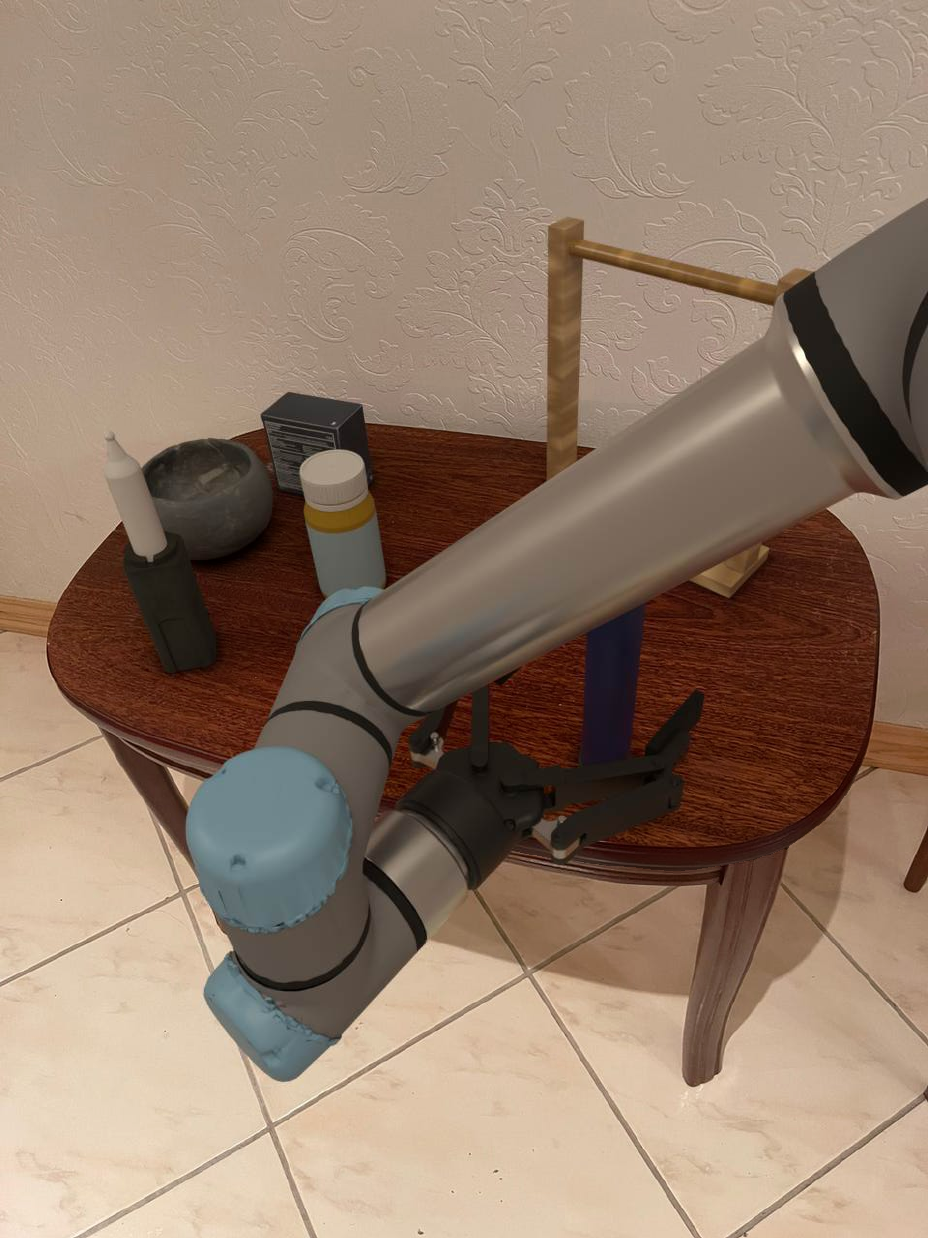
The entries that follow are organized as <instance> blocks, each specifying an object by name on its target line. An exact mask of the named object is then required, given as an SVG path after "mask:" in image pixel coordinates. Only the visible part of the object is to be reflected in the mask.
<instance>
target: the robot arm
mask: <svg viewBox="0 0 928 1238" xmlns="http://www.w3.org/2000/svg"><path fill="white" fill-rule="evenodd" d="M772 312H773V314H772V313H771V317H772V318H771V317H770V322H769V325H768V327H767V330H766V332H765V333H764V336H762V337H761V338H759V339H757V340H756V341H754V342H753V343H751V344H750V345H749V346H747V347H746V348H744V349H742V350H741V351H739V352H738V353H737V354H735V355H734V356H733V357H731V358H729V359H728V360H726V361H725V362H723V363H721V365H719V366H717V367H716V368H714V369H713V370H711V371H710V372H708V373H707V374H705V375H704V376H702V377H701V378H699V379H698V380H696V381H695V382H693V383H692V384H691V385H689V386H687V387H686V388H684V389H682V390H681V391H680V392H679V393H677V394H675V395H674V396H672V397H671V398H669V399H668V400H666V401H664V403H662V404H660V405H659V406H657V407H656V408H654V409H653V410H651V411H649V412H648V413H646V414H645V415H644V416H643V417H641V418H640V419H638V420H637V421H634V422H633V423H631V425H629V426H628V427H626V428H625V429H623V430H621V431H619V432H618V433H617V434H615V435H614V436H612V437H610V439H608V440H606V441H605V442H604V443H602V444H600V445H599V446H597V447H596V448H595V449H593V450H591V451H589V452H588V453H587V454H586V455H584V456H582V457H581V458H580V459H578V460H577V462H575V463H574V464H572V465H571V466H569V467H568V468H566V469H565V470H563V471H562V472H560V473H559V474H557V475H556V476H554V477H553V478H551V479H550V480H548V481H547V480H546V481H545V482H544V483H542V484H541V485H538V487H536V488H535V489H533V490H531V491H529V493H527V494H525V495H524V496H523V497H521V498H520V499H518V500H517V501H515V502H514V503H513V504H511V505H509V506H508V507H506V508H505V509H503V510H502V511H500V512H499V513H497V514H496V515H494V516H493V517H491V518H490V519H488V520H486V521H485V522H484V523H482V524H480V525H479V526H478V527H476V528H475V529H474V530H472V531H470V532H469V533H467V534H466V535H464V536H463V537H462V538H460V539H458V540H457V541H456V542H454V543H452V544H451V545H449V546H448V547H446V548H445V549H444V550H442V551H440V552H439V553H438V554H436V555H434V556H433V557H432V558H429V559H428V560H427V561H425V562H424V563H422V564H421V565H420V566H418V567H417V568H415V569H413V570H412V571H410V572H409V573H407V574H406V575H405V576H403V577H401V578H400V579H399V580H397V581H395V582H394V583H393V584H391V585H389V586H388V587H386V588H383V589H380V588H375V587H366V586H364V587H361V588H359V589H347V588H346V589H342V590H340V591H338V592H336V593H334V594H332V595H331V596H329V597H328V598H327V599H326V598H325V599H324V601H322V602H321V604H320V605H319V606H318V608H317V610H316V611H315V613H314V615H313V617H312V618H311V620H310V622H309V623H308V625H307V626H306V627H305V628H304V629H303V630H302V632H301V636H300V638H299V641H297V643H296V646H295V652H294V655H293V658H292V660H291V662H290V665H289V667H288V670H287V672H286V674H285V677H284V679H283V681H282V684H281V686H280V689H279V690H278V693H277V695H276V698H275V701H274V702H273V705H272V707H271V710H270V712H269V715H268V717H267V719H266V721H265V723H264V725H263V728H262V729H261V732H260V734H259V736H258V738H257V741H256V743H255V745H254V747H253V749H250V750H247V751H244V752H241V753H239V754H236V755H235V756H232V757H231V758H229V759H227V760H226V761H225V762H224V763H223V764H222V766H221V768H220V769H219V770H217V771H216V772H215V773H214V774H213V775H212V776H210V777H208V778H205V779H204V780H203V782H202V783H201V784H200V785H199V787H198V788H197V789H196V791H195V793H194V795H193V797H192V799H191V801H190V803H189V806H188V810H187V814H186V818H185V840H186V845H187V848H188V852H189V854H190V856H191V859H192V861H193V864H194V872H195V874H196V876H197V879H198V887H199V889H200V893H201V894H202V896H203V898H204V899H205V901H206V902H207V904H208V906H209V907H210V909H211V910H212V911H214V914H215V916H216V917H217V919H218V921H219V923H220V925H221V927H222V929H223V931H224V933H225V935H226V937H227V939H228V940H229V943H230V945H231V946H232V950H230V951H228V952H227V953H226V954H225V956H224V957H223V959H222V961H221V962H220V963H219V964H218V965H217V967H215V969H214V970H213V971H212V972H211V973H210V975H209V976H207V979H206V982H205V984H204V987H203V994H202V995H203V998H204V1001H205V1004H206V1005H207V1008H208V1009H209V1010H210V1012H211V1013H212V1015H213V1016H214V1018H215V1019H216V1020H217V1021H218V1023H219V1024H220V1025H221V1026H222V1028H223V1029H224V1031H225V1032H226V1033H227V1035H228V1036H229V1037H230V1038H231V1039H232V1040H233V1042H234V1043H235V1044H236V1045H237V1046H238V1047H239V1048H240V1050H241V1051H242V1052H243V1053H244V1054H245V1055H246V1056H247V1057H248V1058H249V1059H250V1061H251V1062H252V1063H254V1065H256V1067H257V1068H258V1069H260V1071H262V1072H263V1073H264V1074H265V1075H266V1076H267V1077H269V1078H270V1079H272V1080H273V1081H277V1082H279V1083H287V1082H288V1083H289V1082H291V1081H292V1082H293V1081H294V1080H296V1079H298V1078H299V1077H300V1076H301V1075H303V1073H304V1072H305V1071H307V1070H308V1069H309V1068H310V1067H311V1066H312V1065H313V1064H314V1063H315V1062H316V1061H317V1060H318V1059H319V1058H320V1057H321V1056H322V1055H324V1053H326V1052H327V1050H329V1049H330V1048H331V1047H334V1046H336V1045H337V1044H338V1043H339V1042H340V1041H341V1040H342V1037H343V1035H344V1034H345V1032H346V1031H347V1030H348V1029H349V1028H350V1027H351V1026H352V1024H353V1023H354V1022H355V1021H356V1020H357V1019H358V1018H359V1017H360V1016H361V1015H362V1014H363V1012H364V1011H366V1009H367V1008H368V1007H369V1006H370V1005H371V1004H372V1002H374V1001H375V999H376V998H377V997H378V996H379V995H380V994H381V993H382V992H383V991H384V989H385V988H387V986H388V985H389V984H390V983H391V982H392V980H394V978H395V977H397V975H398V974H399V973H400V972H401V971H402V969H404V968H405V966H406V965H407V964H408V963H409V962H410V961H411V960H412V959H413V958H414V956H416V954H418V952H419V951H420V950H421V949H422V948H423V947H424V946H425V945H426V944H427V943H428V942H429V941H430V940H431V939H432V938H433V937H434V936H435V935H436V933H437V932H439V930H440V929H441V928H442V927H443V926H444V925H445V924H446V923H447V921H449V920H450V919H451V918H452V916H453V915H454V914H455V913H456V912H457V911H458V910H459V909H460V908H461V906H463V905H464V903H465V902H466V901H467V900H468V898H469V891H475V890H478V888H480V887H481V886H482V884H483V883H484V882H485V881H487V879H488V878H489V877H490V876H491V875H492V874H493V873H494V872H495V871H496V870H497V868H499V866H501V864H502V863H503V862H504V861H505V860H506V859H507V858H508V857H509V855H510V854H511V853H512V852H513V851H514V849H515V847H516V846H517V845H518V844H520V843H521V842H523V841H524V840H527V839H529V838H531V837H532V838H534V839H536V840H537V841H538V842H539V843H540V844H542V845H543V846H544V847H545V848H546V849H548V850H549V852H550V861H551V862H552V863H553V864H555V865H556V866H565V865H567V864H568V863H569V862H570V861H571V860H572V859H573V858H575V856H576V855H579V853H580V852H581V851H582V850H583V849H584V848H587V847H589V846H592V845H594V844H596V843H599V842H601V841H604V840H606V839H608V838H611V837H614V836H616V835H619V834H621V833H623V832H626V831H628V830H631V829H634V828H636V827H639V826H641V825H643V824H646V823H649V822H652V821H653V820H656V819H658V818H661V817H664V816H666V815H668V814H671V813H673V812H675V811H678V810H679V809H680V808H681V805H682V799H683V794H684V788H685V779H684V778H683V777H682V776H681V775H679V774H675V773H674V771H675V769H676V768H677V767H678V766H679V765H680V764H681V762H682V761H683V760H684V759H685V757H687V755H688V754H689V749H690V744H691V739H692V734H691V733H690V732H691V731H692V730H693V728H695V726H697V724H698V723H699V722H700V720H701V719H702V714H703V709H704V702H705V698H706V697H705V696H706V693H705V692H702V691H700V690H698V689H694V691H693V692H692V693H691V694H690V695H689V696H688V697H687V699H685V700H684V702H682V704H681V705H680V706H679V707H678V708H677V709H676V711H675V712H674V713H673V714H672V715H671V716H670V717H669V718H668V719H667V720H666V722H665V723H664V724H663V725H662V726H661V727H660V729H658V731H656V733H655V734H653V736H652V737H651V739H649V740H648V741H647V743H646V744H645V746H644V747H645V748H644V755H643V756H638V757H631V758H632V759H625V760H619V761H613V762H606V763H600V764H594V765H587V766H581V767H578V766H575V767H568V768H564V767H563V766H562V765H552V766H546V767H545V766H544V767H541V766H540V762H539V761H538V760H537V759H535V758H533V757H531V756H529V755H527V754H524V753H521V752H519V751H518V750H517V749H516V748H515V747H514V746H513V744H511V743H509V742H508V741H506V740H504V739H503V740H502V741H491V692H490V691H491V687H490V685H491V683H494V684H496V685H498V686H499V687H502V686H503V685H504V684H505V683H507V681H509V679H511V678H512V677H513V676H514V675H515V674H516V673H517V672H518V671H520V669H521V668H523V667H524V666H525V665H528V664H529V663H531V662H533V661H535V660H537V659H539V658H541V657H543V656H544V655H546V654H549V653H551V652H552V651H555V650H557V649H559V648H560V647H562V646H564V645H566V644H568V643H570V642H572V641H573V640H575V639H578V638H579V637H581V636H584V635H585V634H587V632H589V631H591V630H593V629H595V628H597V627H599V626H601V625H603V624H605V623H606V622H608V621H610V620H612V619H614V618H616V617H618V616H620V615H622V614H624V613H626V612H628V611H630V610H632V609H633V608H635V607H637V606H639V605H641V604H643V603H645V602H646V603H647V602H649V601H651V600H653V599H655V598H656V597H659V596H660V595H662V594H664V593H667V592H668V591H671V590H672V589H674V588H676V587H678V586H680V585H682V584H684V583H685V582H688V581H689V579H691V578H693V577H695V576H697V575H699V574H701V573H703V572H705V571H707V570H709V569H711V568H713V567H714V566H716V565H718V564H720V563H722V562H724V561H726V560H728V559H730V558H732V557H734V556H736V555H738V554H740V553H742V552H743V551H745V550H747V549H749V548H751V547H753V546H755V545H757V544H759V543H761V544H762V542H765V541H767V540H769V539H771V538H773V537H774V536H776V535H778V534H780V533H783V532H784V531H786V530H788V529H790V528H792V527H795V526H796V525H797V524H799V523H801V522H803V521H805V520H807V519H809V518H811V517H813V516H815V515H817V514H818V513H821V512H823V511H824V510H827V509H829V508H830V507H832V506H834V505H836V504H838V503H841V501H844V500H846V499H847V498H850V497H851V496H853V495H855V494H860V493H863V494H864V493H865V494H867V495H868V494H869V495H873V496H877V497H881V498H885V499H889V500H893V501H899V500H901V499H903V498H904V497H907V496H908V495H911V494H913V493H915V492H917V491H919V490H921V489H923V488H924V487H927V486H928V197H927V198H925V199H924V200H922V201H920V202H918V203H917V204H915V205H914V206H911V207H910V208H909V209H906V210H905V211H903V212H902V213H900V214H899V215H897V216H896V217H894V218H892V219H891V220H889V221H887V222H886V223H885V224H883V225H882V226H880V227H879V228H877V229H876V230H874V231H873V232H871V233H869V234H868V235H866V236H864V237H863V238H861V239H859V240H858V241H856V242H855V243H854V244H852V245H850V246H849V247H848V248H846V249H844V250H842V251H841V252H840V253H839V254H837V255H836V256H835V257H833V258H831V259H830V260H828V262H825V263H824V264H823V265H822V266H820V267H819V268H818V269H816V270H814V271H813V273H812V274H810V275H809V276H807V277H806V278H804V279H803V280H801V281H800V282H798V283H797V284H796V285H794V286H793V287H791V288H790V289H788V290H787V291H785V292H784V293H783V294H781V295H780V296H778V298H777V300H776V303H775V307H774V311H773V310H772ZM469 694H471V722H470V745H468V746H464V747H460V748H455V749H451V750H447V751H446V752H445V743H444V742H445V740H446V738H447V734H448V731H449V729H450V726H451V723H452V720H453V718H454V715H455V712H456V709H457V707H458V703H459V701H460V699H462V698H465V696H468V695H469ZM422 719H424V720H423V721H422V723H420V725H419V726H418V727H417V728H416V729H415V730H414V731H413V732H412V733H411V734H410V736H409V737H408V739H407V742H408V743H407V744H408V749H409V756H410V763H411V766H412V767H414V768H415V769H423V768H425V767H426V766H427V767H429V768H430V769H432V770H431V771H428V772H427V773H426V774H424V775H423V776H422V777H421V778H420V779H419V780H418V781H417V782H416V783H415V784H413V786H412V787H411V788H410V789H408V790H407V792H405V793H404V794H403V795H402V796H401V797H399V799H398V800H396V802H395V804H394V809H391V810H385V811H384V812H383V813H382V814H381V815H380V816H378V817H377V814H378V812H379V807H380V805H381V801H382V797H383V794H384V790H385V787H386V784H387V780H388V777H389V774H390V770H391V767H392V765H393V761H394V758H395V754H396V751H397V748H398V744H399V741H400V738H401V735H402V733H403V732H404V730H405V729H407V728H408V727H409V726H410V725H413V724H415V723H416V722H419V721H420V720H422ZM548 787H551V790H550V791H549V792H548V793H545V788H548ZM597 801H600V802H597ZM590 802H596V803H595V804H592V805H589V806H587V807H583V808H581V809H579V810H577V811H576V812H574V813H572V814H570V815H569V816H568V817H566V816H565V815H562V814H561V815H558V816H557V818H556V819H553V820H547V819H545V818H544V814H549V813H556V812H561V811H563V810H565V809H566V808H567V807H568V806H572V805H578V804H583V803H590Z"/></svg>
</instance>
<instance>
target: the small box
mask: <svg viewBox="0 0 928 1238" xmlns="http://www.w3.org/2000/svg"><path fill="white" fill-rule="evenodd" d="M364 413H365V412H364V405H363V403H357V402H351V401H346V400H341V399H340V400H339V399H334V398H328V397H323V396H322V397H321V396H316V395H311V394H303V393H298V392H294V391H293V392H292V391H287V392H285V393H284V394H283V395H282V396H281V397H279V398H278V399H277V400H276V401H274V402H273V403H272V404H271V405H270V406H269V407H267V408H266V409H265V410H263V411H262V412H261V413H260V414H259V415H260V420H261V422H262V426H263V429H264V434H265V438H266V443H267V447H268V451H269V455H270V459H271V464H272V468H273V472H274V476H275V481H276V485H277V486H276V487H277V490H278V491H280V492H285V493H290V494H294V495H299V496H303V497H304V492H303V488H302V483H301V479H300V467H301V465H302V463H303V462H304V461H305V460H306V459H308V458H309V457H311V456H313V455H315V454H317V453H320V452H323V451H328V450H347V451H351V452H354V453H356V454H358V455H359V456H360V457H361V458H362V460H363V461H364V465H365V471H366V477H367V485H368V487H369V486H370V485H371V484H372V483H373V481H374V473H373V467H372V459H371V454H370V447H369V439H368V433H367V432H368V431H367V426H366V420H365V414H364Z"/></svg>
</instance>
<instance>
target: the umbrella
mask: <svg viewBox="0 0 928 1238" xmlns="http://www.w3.org/2000/svg"><path fill="white" fill-rule="evenodd" d="M646 606H647V602H645V603H643V604H641V605H639V606H637V607H635V608H633V609H632V610H630V611H628V612H626V613H624V614H622V615H620V616H618V617H616V618H614V619H612V620H610V621H608V622H606V623H605V624H603V625H601V626H599V627H597V628H595V629H593V630H591V631H589V632H587V633H586V640H585V643H586V644H585V660H584V661H585V663H584V664H585V665H584V680H583V681H584V683H583V688H584V689H583V703H582V704H583V705H582V727H581V746H580V747H581V748H580V749H579V752H578V758H577V759H578V760H577V765H578V766H577V767H581V766H587V765H594V764H600V763H606V762H613V761H619V760H625V759H632V758H633V757H632V754H631V747H632V738H633V730H634V728H633V727H634V721H635V720H634V719H635V710H636V701H637V690H638V682H639V672H640V665H641V664H640V663H641V655H642V654H641V653H642V644H643V637H644V636H643V635H644V626H645V616H646V608H647V607H646Z"/></svg>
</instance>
